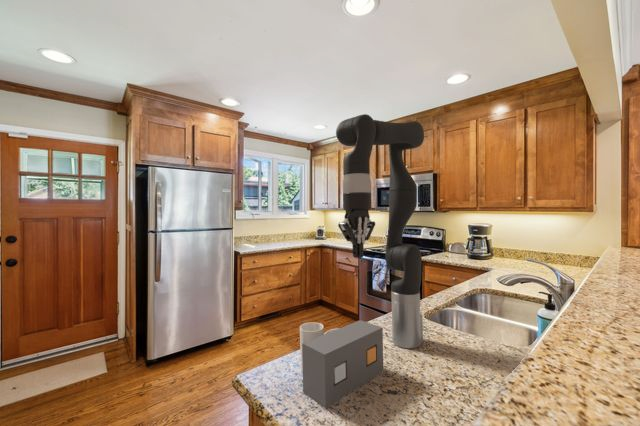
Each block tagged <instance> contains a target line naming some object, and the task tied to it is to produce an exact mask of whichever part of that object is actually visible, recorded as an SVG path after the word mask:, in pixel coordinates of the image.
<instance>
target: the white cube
mask: <svg viewBox="0 0 640 426" xmlns="http://www.w3.org/2000/svg"><path fill="white" fill-rule="evenodd" d="M333 371H334V383H335V384H336V383H338V382H339V381H341V380H343V379H344V378H346V363H345V362H342V363H340V364H338V365H336V366H334V367H333Z"/></svg>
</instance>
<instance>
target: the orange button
mask: <svg viewBox="0 0 640 426" xmlns="http://www.w3.org/2000/svg"><path fill="white" fill-rule="evenodd" d="M375 360H376V346H372V347H370V348H368V349H367V350H366V364H367V365H368V364H370V363H372V362H374V361H375Z"/></svg>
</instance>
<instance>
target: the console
mask: <svg viewBox="0 0 640 426" xmlns="http://www.w3.org/2000/svg"><path fill="white" fill-rule="evenodd" d="M383 328H384V327H382V326H379V325H376V324H373V323H369V322H367V321H365V320H361V319H359V320H357V321H354V322H351V323H349V324H347V325H345V326H342V327H339V329H337V330H334V331H332V332H329V333H327V334H324V335H322V336H319V337H317V338H314V339H312V340H309V341H307V342H304V343H302V358H303V372H302V393H303V394H304V395H306V396H307V397H309V398H310V399H311V400H313V401H314V402H316V403H317V404H318V405H319V406H321V407H323V408H324V409H328V408H329V407H330V406H332V405H334V404H335V403H337V402H338V401H340V400H341V399H343V398H344V397H346V396H348V395H349V394H350V393H352V392H353V391H355V390H357V389H358V388H360V387H362V386H363V385H364V384H366V383H368V382H369V381H371V380H372V379H374V378H375V377H377V376H378V375H380V374H381V373H383V372H384V341H383V339H384V335H383V331H384V330H383ZM372 346H376V360H375V361H374V362H372V363H370V364H368V365H367V364H366V350H367V349H368V348H370V347H372ZM342 362H345V363H346V378H344V379H343V380H341V381H339V382H338V383H336V384H335V383H334V371H333V367H334V366H336V365H338V364H340V363H342Z"/></svg>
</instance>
